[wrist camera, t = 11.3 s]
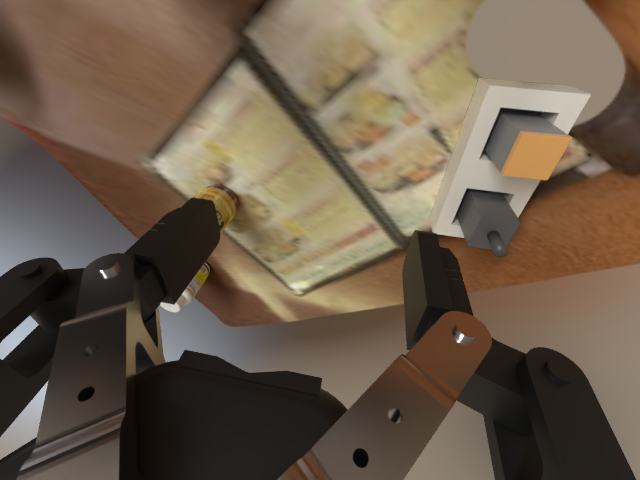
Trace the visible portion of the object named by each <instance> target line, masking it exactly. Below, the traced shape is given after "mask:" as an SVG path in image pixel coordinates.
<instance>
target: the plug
mask: <svg viewBox="0 0 640 480" xmlns="http://www.w3.org/2000/svg"><path fill="white" fill-rule="evenodd" d="M571 140H572V137H571V136H569V135H568V134H566V133H565V132H564V131H562V130H561V129H559V128H558V127H556V126H555V125H553V124H552V123H550V122H549V121H547V120H546V119H545V118H543V117H542V116H540V115H539V114H537V113H536V112H528V111H515V110H503V109H500V111H499V113H498V115H497V118H496V120H495V122H494V125H493V127H492V129H491V132H490V134H489V137H488V139H487V141H486V144H485V146H484V150H485V151H486V153H487V154H488V156H489V157H490V158H491V160H492V161H493V163H494V164H495V165H496V167H497V168H498V170H499V171H500V173H501V174H502V175H503V176H512V177H521V178H531V179H540V180H548V179H549V177H550V175H551V173H552V172H553V170H554V168H555V167H556V165H557V163H558V162H559V160H560V158H561V157H562V155H563V153H564V151H565V150H566V148H567V146H568V145H569V143H570V141H571Z"/></svg>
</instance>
